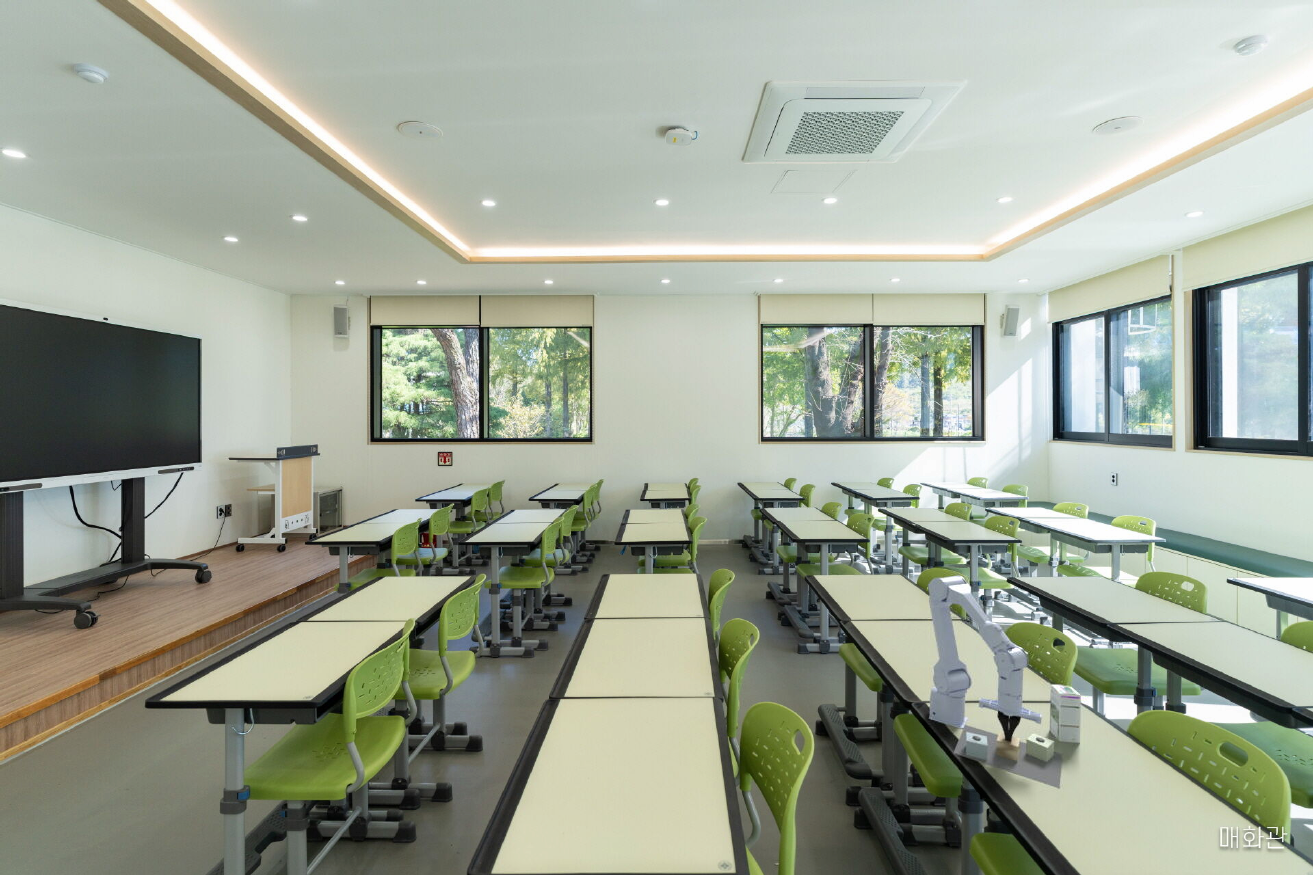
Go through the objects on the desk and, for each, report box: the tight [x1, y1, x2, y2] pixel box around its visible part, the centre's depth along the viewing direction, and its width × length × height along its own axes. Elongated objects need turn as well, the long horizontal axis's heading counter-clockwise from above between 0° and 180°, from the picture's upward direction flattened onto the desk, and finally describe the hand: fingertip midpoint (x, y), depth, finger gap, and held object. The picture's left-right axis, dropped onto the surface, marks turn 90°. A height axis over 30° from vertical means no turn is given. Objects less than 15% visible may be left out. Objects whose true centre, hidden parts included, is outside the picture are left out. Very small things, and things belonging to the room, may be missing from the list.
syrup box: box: [1049, 684, 1082, 744], centre depth 165 cm, size 6×6×14 cm
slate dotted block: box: [966, 732, 988, 760], centre depth 157 cm, size 5×5×4 cm
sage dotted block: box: [1025, 733, 1055, 762], centre depth 157 cm, size 5×5×4 cm
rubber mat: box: [953, 724, 1063, 789], centre depth 157 cm, size 24×18×1 cm
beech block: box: [996, 732, 1021, 761], centre depth 157 cm, size 5×5×4 cm
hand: (1008, 739), depth 157 cm, fingers closed, pressing on beech block
